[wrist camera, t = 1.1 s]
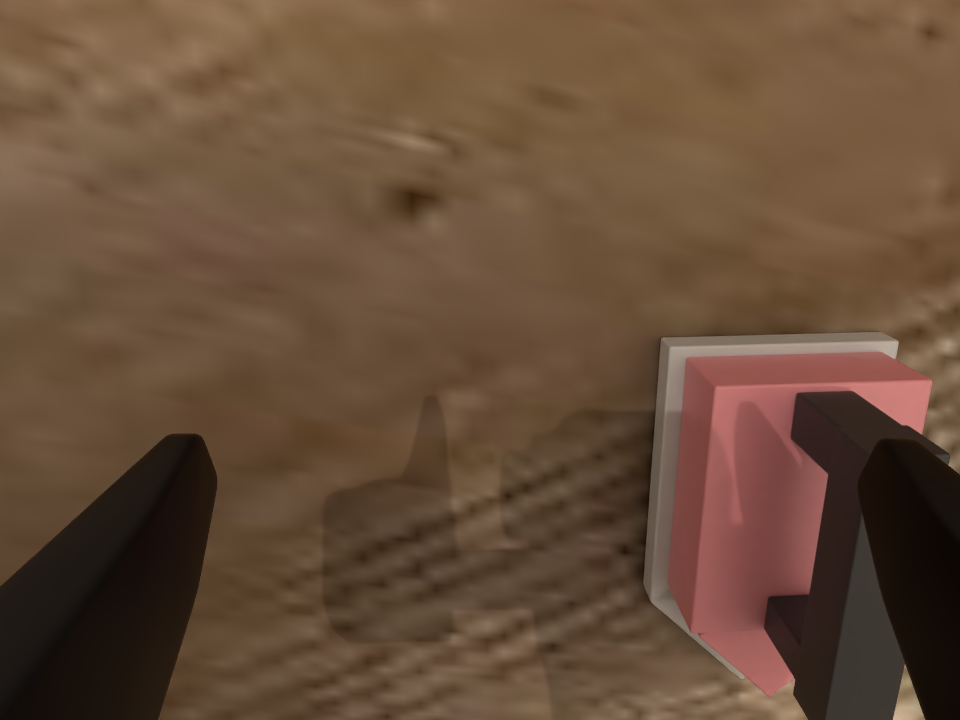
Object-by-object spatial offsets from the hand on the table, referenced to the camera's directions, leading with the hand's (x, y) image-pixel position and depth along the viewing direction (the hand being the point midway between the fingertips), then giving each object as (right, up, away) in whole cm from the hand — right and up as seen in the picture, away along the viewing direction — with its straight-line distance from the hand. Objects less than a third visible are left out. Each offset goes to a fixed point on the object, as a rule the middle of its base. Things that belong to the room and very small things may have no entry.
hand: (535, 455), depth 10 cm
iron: (+8, -4, +15) cm, 18 cm away
